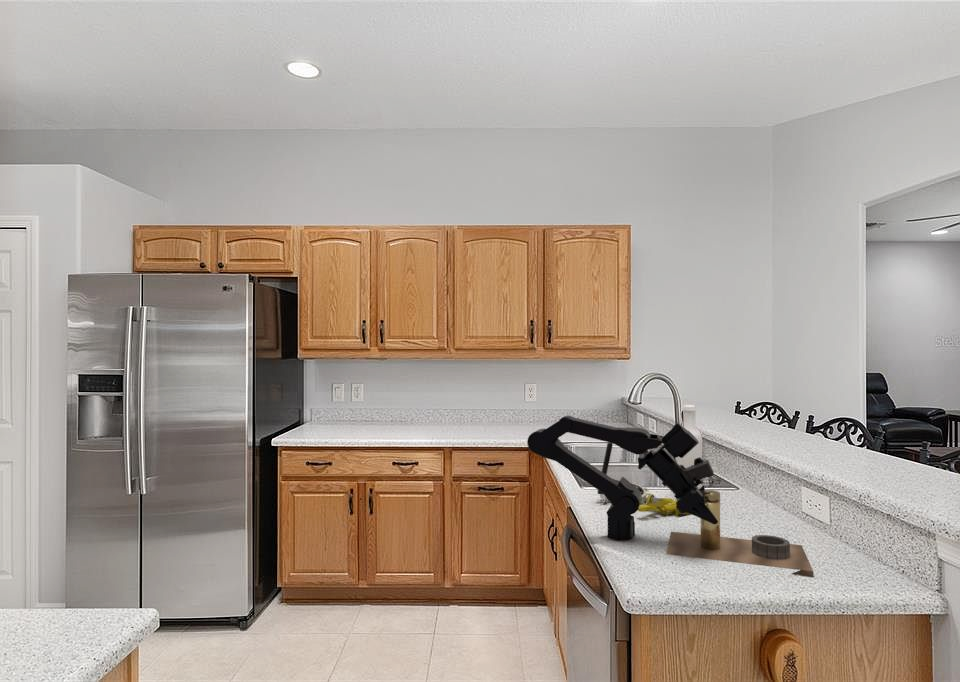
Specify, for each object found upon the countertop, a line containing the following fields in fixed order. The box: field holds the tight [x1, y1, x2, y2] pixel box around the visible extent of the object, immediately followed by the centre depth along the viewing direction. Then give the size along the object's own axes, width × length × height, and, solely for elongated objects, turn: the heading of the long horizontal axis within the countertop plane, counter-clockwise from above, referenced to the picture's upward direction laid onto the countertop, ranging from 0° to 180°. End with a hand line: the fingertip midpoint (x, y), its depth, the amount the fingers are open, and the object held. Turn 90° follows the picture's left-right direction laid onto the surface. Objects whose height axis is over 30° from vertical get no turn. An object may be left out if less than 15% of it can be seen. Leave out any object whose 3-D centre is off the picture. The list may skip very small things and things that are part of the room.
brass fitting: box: [700, 489, 721, 550], centre depth 145 cm, size 4×4×13 cm
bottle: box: [676, 404, 703, 489], centre depth 195 cm, size 8×8×30 cm
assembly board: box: [665, 531, 814, 578], centre depth 143 cm, size 30×18×4 cm, turn 69°
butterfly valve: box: [596, 442, 652, 505], centre depth 189 cm, size 9×20×17 cm
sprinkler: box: [637, 493, 693, 517], centre depth 176 cm, size 22×6×20 cm
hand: (716, 520), depth 144 cm, fingers closed on brass fitting, 4 cm apart
